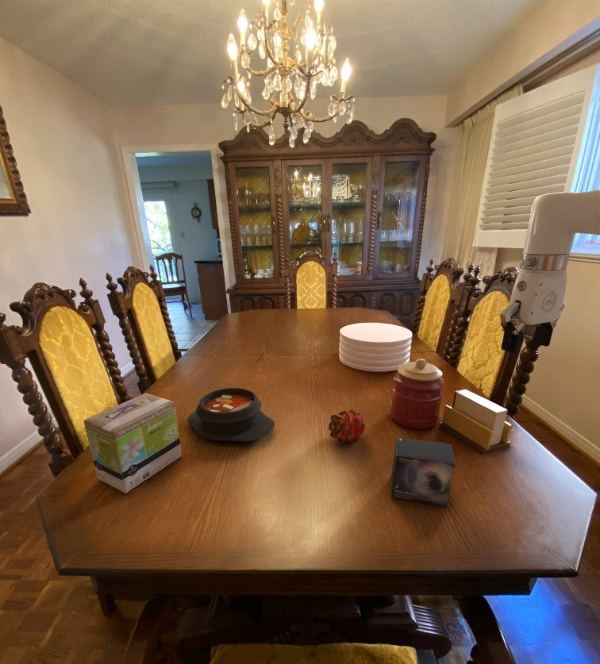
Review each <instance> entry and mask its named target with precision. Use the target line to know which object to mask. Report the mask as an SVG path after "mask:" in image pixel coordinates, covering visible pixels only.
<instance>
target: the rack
mask: <svg viewBox="0 0 600 664" xmlns="http://www.w3.org/2000/svg"><path fill="white" fill-rule="evenodd" d="M438 426H439V427H441V428H442V429H443V430H445V431H447V432H448V433H449V434H451V435H452V436H454V437H456V438H457V439H459V440H460V441H462V442H463V443H465V444H467V445H468V446H470V447H471V448H472V449H474V450H476V451H477V452H478V453H480V454H482V455H485V454H489V453H491V452H494V451H498V450H500V449H501V450H502V449H505V448H507V447H509V446H511V444H512V443H511V441H510V438H511V437H510V436H511V433H512V430H513V429H512V428H513V424H511V423H510V422H508V421H506V420H505V423H504V427H503V431H502V436H501V440H500V443H497V444H494V445H491V446H490V443H491V438H492V434H493V431H492V430H491V429H489V428H487V427H485V426H484V425H482V424H480V423H478V422H477V421H475V420H473V419H471V418H470V417H468V416H466V415H464V414H463V413H461V412H459V411H457V410H456V409H454V408H452V406H450V405H449V404H445V405H444V411H443V417H442V421H441V422H439V425H438Z"/></svg>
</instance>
